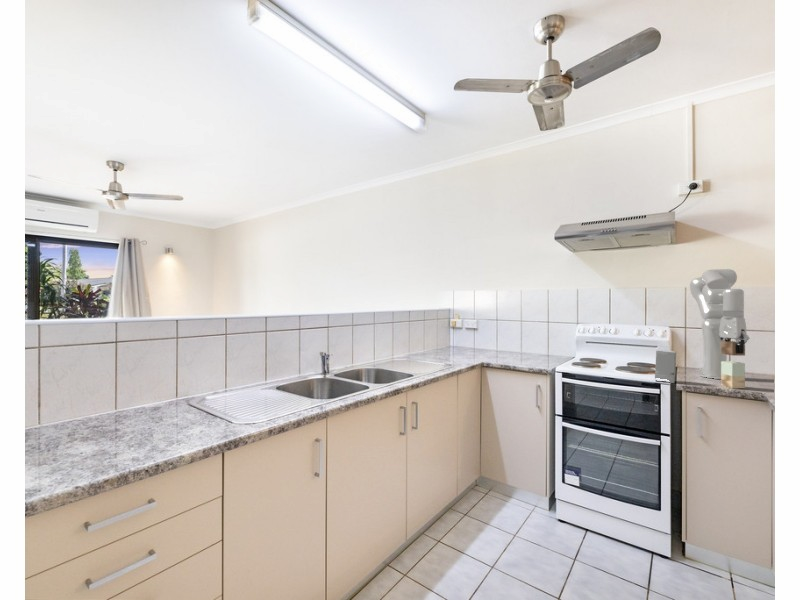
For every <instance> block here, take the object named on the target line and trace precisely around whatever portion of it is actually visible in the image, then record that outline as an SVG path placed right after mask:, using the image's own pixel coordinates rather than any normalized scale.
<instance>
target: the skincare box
mask: <svg viewBox="0 0 800 600" xmlns="http://www.w3.org/2000/svg"><path fill="white" fill-rule="evenodd" d="M676 366H677V351H672V350H667V349H666V350H663V349H657V350H656V351H655V365H654V367H655V368H654V369H655V370H654V379H655V378H660V379H667V380H669V381H670V383H669V384H675V382H676Z"/></svg>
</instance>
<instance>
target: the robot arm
mask: <svg viewBox="0 0 800 600" xmlns="http://www.w3.org/2000/svg"><path fill="white" fill-rule="evenodd" d="M737 280H738V275H737V273H736V271H735V270H733V269H730V268H727V269H726V268H722V269H719V268H717V269H714V268H713V269H708V270H706V271H704V272H703V273H702V275H701V277H695V278H693V279H691V280H690V283H689V291H690V294H691V295H692V297H693V298H694V300H695V301H696V303H697V304H698V305H697V307H698V309H699V312H700V316H701V317H702V319H703V321H702V323H701V332H702V336H703V338H702V339H703V366H702V367H700V368H699V370H700V371H702V372H701V373H699V376H701V377H703V378H706V377H707V379H712V378H714V379H715V380H721V361H728V360H727V359H728V358H727V357H728V356H727V355H726V354H721V341H731V339H732V340H734V341H735V342H736V343H737V345H736V353H737V354H743V353H744V345H745V346H746V344H747V342H748V341H749V340H750V336H749V335H748V334H747V324H746V318H745V292H744V290H743V289H742V288H732V287H733V286H734V285H735V284H736V282H737ZM714 379H713V380H714Z"/></svg>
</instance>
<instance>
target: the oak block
mask: <svg viewBox="0 0 800 600" xmlns="http://www.w3.org/2000/svg"><path fill="white" fill-rule="evenodd" d="M720 382H721V383H720V386H721V385H722V386H721V387H723V386H726V387H725V388H727V387H729V388H728V389H731V388H745V389H746V375H745V376H729V375H725V374H721V379H720Z"/></svg>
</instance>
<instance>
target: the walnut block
mask: <svg viewBox="0 0 800 600" xmlns="http://www.w3.org/2000/svg"><path fill="white" fill-rule="evenodd" d="M736 345H737V343H736V340H733V341H731V340H730V341H721V354H726V355H728V356H739V357H741V356H743V357H744V356H746V344H745V345H744V353H743V354H737V353H736Z"/></svg>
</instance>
